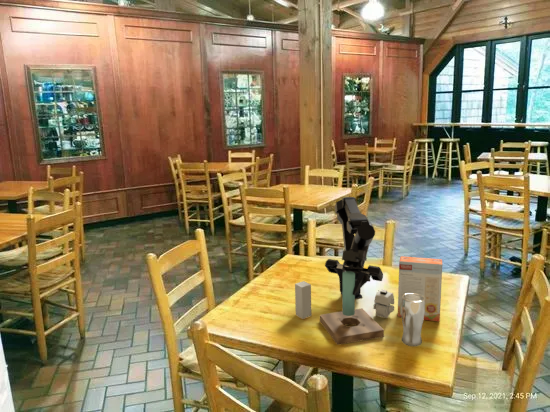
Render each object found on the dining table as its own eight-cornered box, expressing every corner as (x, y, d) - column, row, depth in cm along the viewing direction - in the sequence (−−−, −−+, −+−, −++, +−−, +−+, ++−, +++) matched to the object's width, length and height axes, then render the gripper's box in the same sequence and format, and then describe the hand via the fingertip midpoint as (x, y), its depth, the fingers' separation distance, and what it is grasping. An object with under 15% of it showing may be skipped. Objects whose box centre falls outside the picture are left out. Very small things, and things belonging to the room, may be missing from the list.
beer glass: (396, 336, 141) (398, 293, 137) (417, 334, 141) (419, 291, 138) (405, 348, 134) (406, 302, 130) (427, 346, 134) (429, 301, 131)
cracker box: (439, 314, 154) (442, 258, 149) (439, 322, 148) (443, 264, 144) (398, 309, 159) (400, 255, 154) (397, 317, 153) (399, 260, 148)
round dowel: (351, 309, 147) (352, 270, 144) (356, 314, 143) (357, 275, 140) (340, 311, 146) (340, 272, 143) (345, 316, 143) (345, 276, 139)
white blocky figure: (394, 315, 155) (395, 288, 152) (388, 323, 149) (389, 295, 147) (378, 311, 158) (378, 285, 156) (371, 319, 152) (372, 292, 150)
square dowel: (304, 311, 159) (303, 281, 157) (311, 315, 156) (310, 284, 153) (295, 314, 157) (294, 283, 154) (302, 319, 154) (301, 287, 151)
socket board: (362, 314, 156) (362, 308, 155) (383, 336, 140) (383, 329, 140) (319, 321, 152) (319, 314, 151) (337, 344, 137) (337, 337, 136)
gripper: (326, 236, 147) (313, 278, 140) (381, 243, 138) (369, 288, 131) (335, 251, 156) (323, 291, 149) (387, 259, 146) (377, 302, 140)
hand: (347, 293), depth 142 cm, fingers closed on round dowel, 4 cm apart
